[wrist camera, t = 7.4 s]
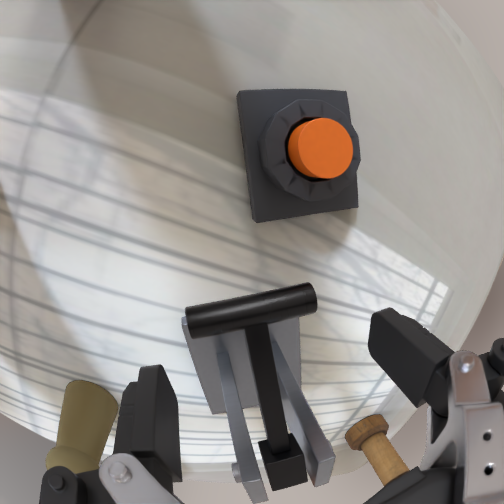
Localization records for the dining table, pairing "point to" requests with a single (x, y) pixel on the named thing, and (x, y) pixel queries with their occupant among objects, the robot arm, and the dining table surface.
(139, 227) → the dining table surface
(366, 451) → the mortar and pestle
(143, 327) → the dining table surface
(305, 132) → the button
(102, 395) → the cork
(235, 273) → the dining table surface
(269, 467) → the black t-handle
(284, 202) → the control block
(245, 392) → the lever stand
